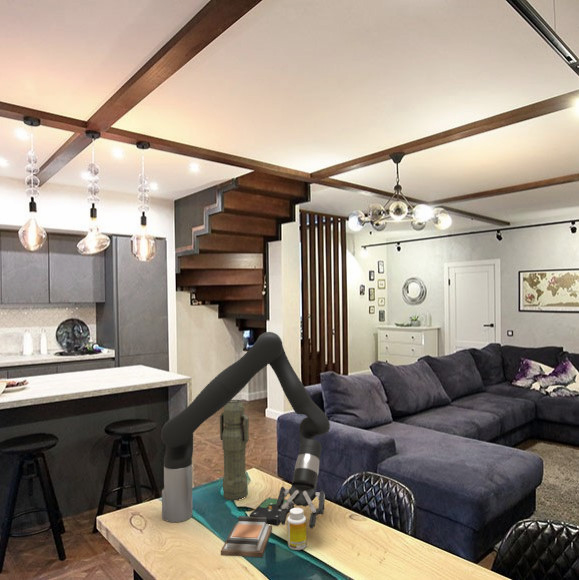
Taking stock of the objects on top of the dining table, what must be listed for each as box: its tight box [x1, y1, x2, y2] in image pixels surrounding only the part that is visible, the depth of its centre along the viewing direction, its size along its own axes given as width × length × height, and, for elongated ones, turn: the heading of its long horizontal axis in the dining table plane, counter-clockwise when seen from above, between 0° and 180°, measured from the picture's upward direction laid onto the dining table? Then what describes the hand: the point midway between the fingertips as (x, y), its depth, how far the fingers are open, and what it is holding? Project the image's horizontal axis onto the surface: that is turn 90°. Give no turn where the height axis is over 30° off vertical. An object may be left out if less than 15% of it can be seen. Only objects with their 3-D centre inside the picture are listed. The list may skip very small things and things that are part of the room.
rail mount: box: [220, 515, 273, 558], centre depth 138 cm, size 12×16×4 cm
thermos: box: [219, 399, 250, 502], centre depth 172 cm, size 9×12×35 cm
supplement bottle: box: [286, 507, 308, 551], centre depth 135 cm, size 6×6×10 cm
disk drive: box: [249, 497, 295, 527], centre depth 156 cm, size 10×3×15 cm
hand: (296, 525), depth 135 cm, fingers open, 8 cm apart
